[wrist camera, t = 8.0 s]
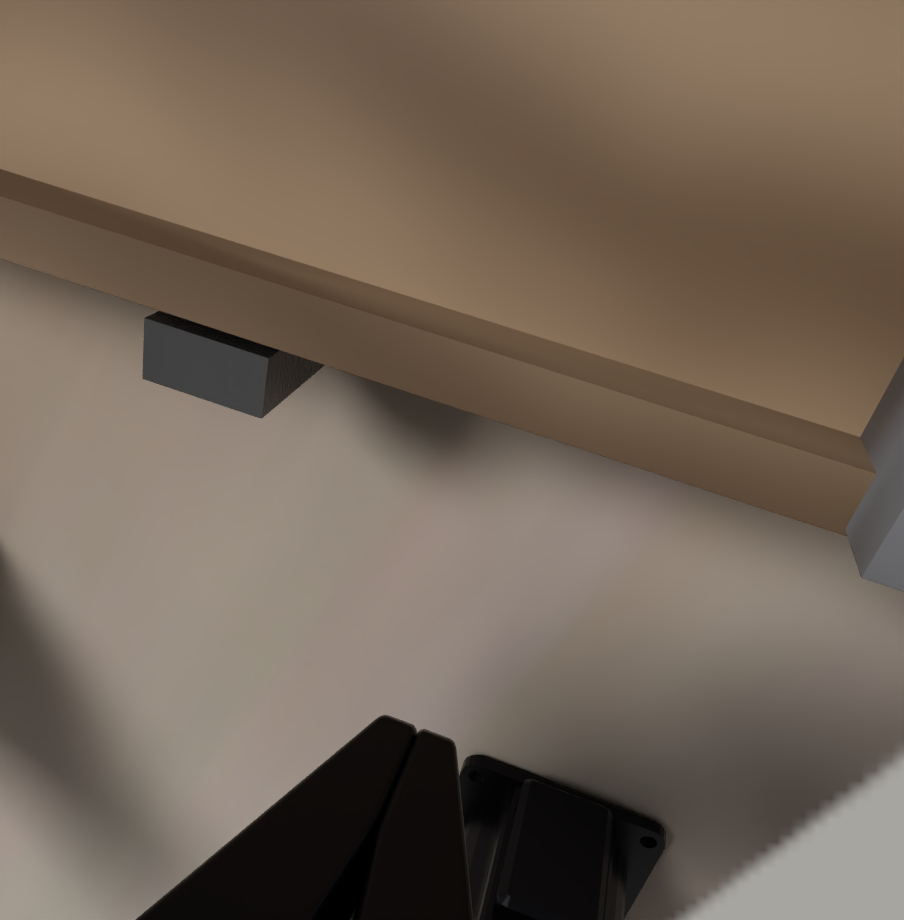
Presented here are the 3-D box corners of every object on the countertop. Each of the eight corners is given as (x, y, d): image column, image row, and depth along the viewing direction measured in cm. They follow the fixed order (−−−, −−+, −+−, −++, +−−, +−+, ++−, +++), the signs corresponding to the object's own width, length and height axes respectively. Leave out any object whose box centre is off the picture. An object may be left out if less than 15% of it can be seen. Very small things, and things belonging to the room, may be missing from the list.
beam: (1024, 549, 13) (1131, 706, 10) (-382, 98, 16) (-634, 106, 13) (1509, -123, 8) (1985, -231, 5) (-555, -541, 12) (-996, -755, 9)
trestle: (481, 357, 19) (406, 467, 14) (182, 264, 20) (9, 334, 15) (658, -321, 13) (641, -566, 8) (220, -410, 14) (-47, -680, 9)
